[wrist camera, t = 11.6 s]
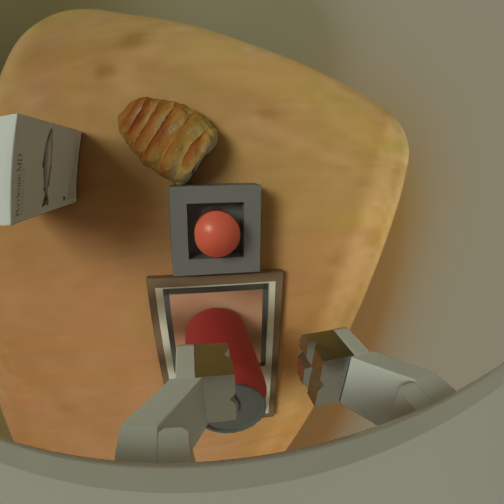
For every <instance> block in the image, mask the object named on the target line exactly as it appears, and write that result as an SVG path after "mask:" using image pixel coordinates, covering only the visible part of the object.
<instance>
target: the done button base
mask: <svg viewBox="0 0 504 504" xmlns="http://www.w3.org/2000/svg"><path fill="white" fill-rule="evenodd" d="M169 209H170V230H171V247H172V261H173V274H174V276H188V275H208V274H227V273H244V272H260V235H261V185H259V184H255V183H223V184H188V185H171V186H170V187H169ZM212 209H220V210H224V211H226V212H227V213H229V214H230V215H231V216H232V217H233V218H234V220H235V221H236V222H237V224H238V226H239V229H240V240H239V243H238V245H237V247H236V248H235V249H234V250H233V251H232V252H231V253H230V254H228V255H226V256H223V257H211V256H208V255H206V254H204V253H203V252H202V251H201V250H200V249H199V248H198V246H197V244H196V242H195V235H194V228H195V224H196V221H197V219H198V218H199V217H200V216H201V215H202V214H203V213H204V212H206V211H208V210H212Z"/></svg>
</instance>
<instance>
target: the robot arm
mask: <svg viewBox="0 0 504 504" xmlns="http://www.w3.org/2000/svg"><path fill="white" fill-rule="evenodd" d="M299 346H300V348H301V349H302V351H303V352H302V353H301V354H300V356H299V357H298V365H297V366H298V374H299V377H300V380H301V382H302V384H303V385H305V386H307V387H308V392H307V393H308V395H309V397H310V399H311V401H312V403H313V405H314V406H315V407H316V406H322V405H326V404H331V403H336V402H340V403H341V404H343V405H344V406H346V407H347V408H349V409H351V410H352V411H354V412H356V413H357V414H359V415H361V416H362V417H364V418H366V419H368V420H369V421H371V422H373V423H374V424H376V425H378V426H376V427H373V428H370V429H367V430H364V431H361V432H358V433H355V434H352V435H349V436H345V437H342V438H338V439H335V440H331V441H328V442H324V443H320V444H316V445H312V446H308V447H303V448H299V449H294V450H289V451H284V452H279V453H273V454H267V455H261V456H254V457H247V458H239V459H230V460H220V461H207V462H196V461H195V457H194V453H193V447H194V446H195V444H196V443H197V441H198V439H199V438H200V436H201V435H202V433H203V431H204V430H205V428H206V426H207V425H208V423H211V422H221V421H229V420H236V402H235V398H234V394H235V393H236V391H235V373H234V369H233V364H232V360H231V358H229V347H228V343H208V344H194V345H193V344H184V345H177V347H176V367H175V379H170V380H168V381H167V382H166V383H165V384H164V385H163V386H162V387H161V388H160V389H159V390H158V391H157V392H156V393H155V394H154V395H153V396H152V397H151V398H149V399H148V400H147V401H146V402H145V403H144V404H143V405H142V406H141V407H140V408H139V409H138V410H137V411H136V412H134V413H133V414H132V415H131V416H130V417H129V418H128V419H127V420H126V421H125V422H124V423H122V424H121V425H120V430H119V436H118V442H117V448H116V455H115V460H105V459H96V458H89V457H82V456H76V455H70V454H64V453H59V452H54V451H49V450H45V449H41V448H37V447H33V446H29V445H25V444H21V443H18V442H14V441H11V440H8V439H5V438H2V437H0V504H504V362H503V363H502V364H501V365H499V366H497V367H496V368H495V369H493V370H491V371H490V372H488V373H487V374H485V375H483V376H482V377H480V378H478V379H477V380H475V381H473V382H472V383H470V384H468V385H466V386H464V387H463V388H461V389H459V390H457V391H455V390H454V389H453V388H452V387H451V386H450V385H449V384H448V383H447V382H446V381H445V380H444V379H443V378H442V377H441V376H439V375H438V374H437V373H436V372H435V371H431V370H428V369H425V368H422V367H419V366H415V365H413V364H410V363H407V362H403V361H400V360H398V359H395V358H392V357H389V356H386V355H383V354H380V353H377V352H375V351H374V352H369V351H368V350H367V348H366V347H365V346H364V345H363V344H362V343H361V342H360V341H359V340H358V339H357V338H356V337H355V336H354V335H353V333H352V332H351V331H350V330H349V329H348V328H345V327H343V328H338V329H333V330H329V331H323V332H317V333H311V334H305V335H302V336H301V339H300V345H299Z"/></svg>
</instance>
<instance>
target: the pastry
mask: <svg viewBox="0 0 504 504" xmlns="http://www.w3.org/2000/svg"><path fill="white" fill-rule="evenodd" d="M118 125H119V132H120V134H121V135H122V136H123V138H124V139H125V141H126V143H127V144H128V145H129V147H130V149H131V150H133V151H134V152H135V153H136V154H137V155H138V156H139V157H140V159H141V161H142V163H143V165H145V166H147V167H151V168H153V169H154V170H155V171H157V172H158V173H159V174H160V175H161V176H162V177H164V178H167V179H170V180H172V181H173V182H174V183H175V184H176V185H184V184H186V183H187V182H188V180H189V179H190V178H191V177H192V174H193V173H194V172H195V171H196V169H197V168H198V166H199V164H200V163H201V161H202V159H203V157H204V156H205V155H207V154H208V153H210V152H211V151H212V150H213V148H214V146H215V145H216V144H217V141H218V131H217V129H216V128H214V127H213V126H212V125H211V123H210V121H209V120H208V119H207V118H206V117H205V116H204V115H202V114H200V113H198V112H196V111H194V110H192V109H190V108H189V107H187V106H186V105H184V104H179V103H177V102H174V101H167V100H164V99H163V100H160V99H152V98H149V97H143V98H139V99H137V100H134V101H132V102H131V103H130V104H129V105H128V106H127V107H126V108H125V109H124V110H123V111H122V112H121V113H120V114H119V116H118Z"/></svg>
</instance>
